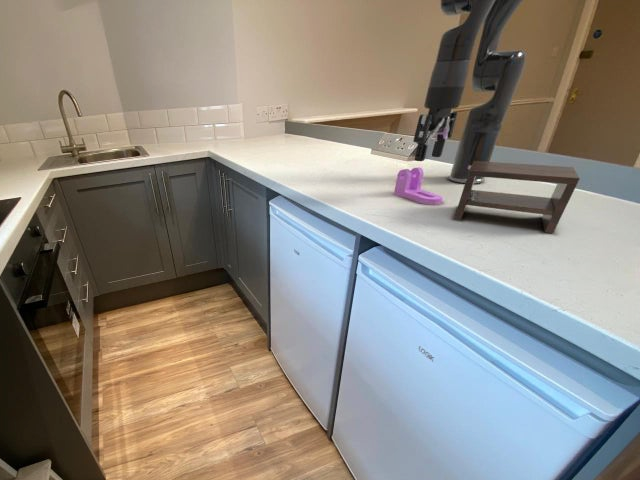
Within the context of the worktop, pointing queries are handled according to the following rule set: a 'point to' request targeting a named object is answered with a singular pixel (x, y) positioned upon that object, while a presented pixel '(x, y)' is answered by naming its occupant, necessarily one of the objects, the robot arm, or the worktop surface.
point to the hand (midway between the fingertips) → (427, 158)
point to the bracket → (414, 187)
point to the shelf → (521, 203)
